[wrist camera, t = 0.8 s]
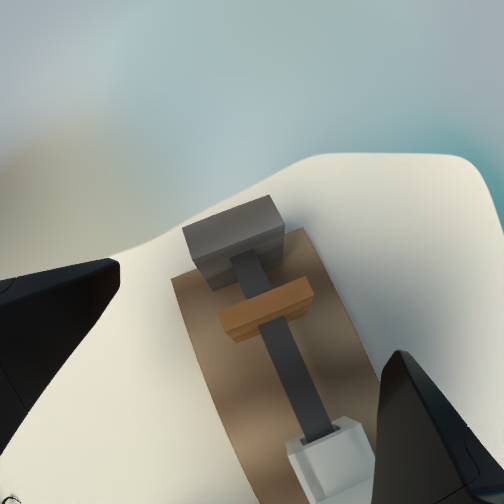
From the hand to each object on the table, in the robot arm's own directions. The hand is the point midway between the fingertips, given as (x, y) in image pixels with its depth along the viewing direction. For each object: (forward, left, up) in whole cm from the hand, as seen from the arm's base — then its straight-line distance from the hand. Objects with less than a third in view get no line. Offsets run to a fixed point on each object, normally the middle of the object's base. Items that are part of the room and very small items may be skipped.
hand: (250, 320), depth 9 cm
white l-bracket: (-8, -1, -9) cm, 11 cm away
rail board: (-3, -1, -11) cm, 12 cm away
